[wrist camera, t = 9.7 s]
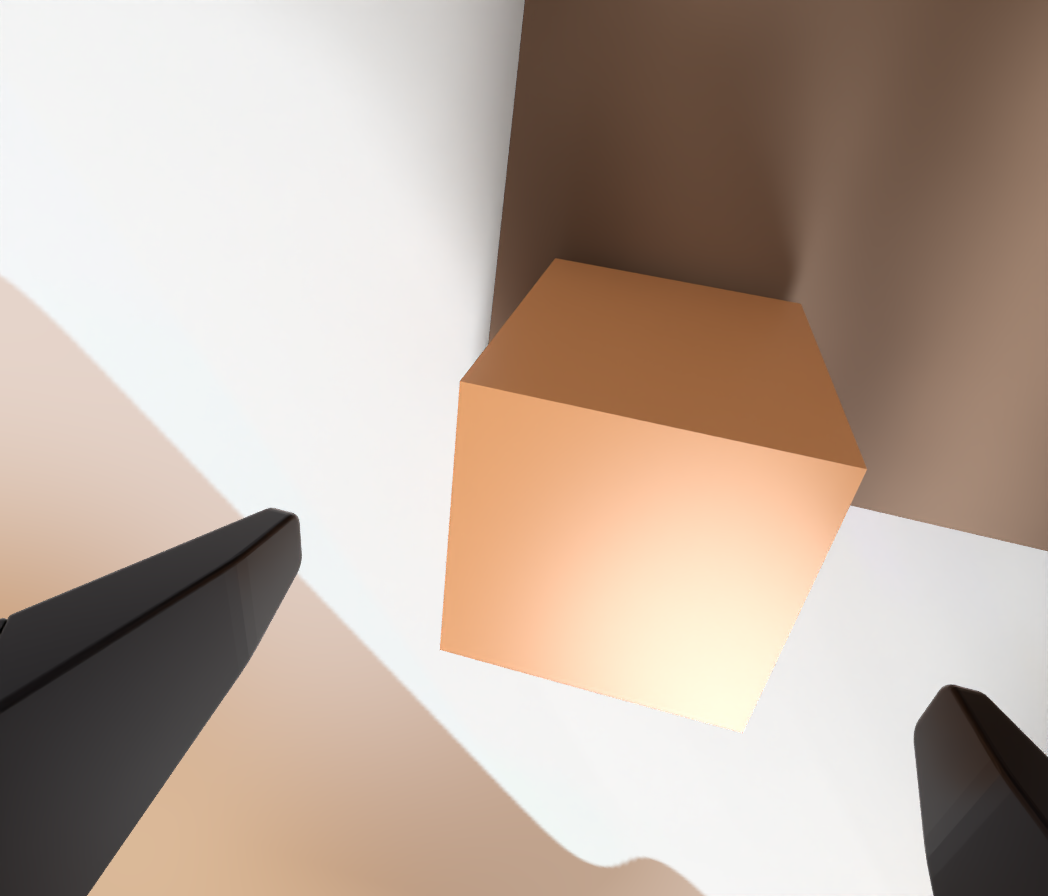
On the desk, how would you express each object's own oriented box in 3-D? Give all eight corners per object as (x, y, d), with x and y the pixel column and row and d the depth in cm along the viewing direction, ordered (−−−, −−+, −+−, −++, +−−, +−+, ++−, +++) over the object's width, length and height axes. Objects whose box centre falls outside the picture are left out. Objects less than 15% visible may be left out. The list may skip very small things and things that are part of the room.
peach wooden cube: (800, 303, 14) (867, 469, 8) (730, 505, 16) (742, 733, 11) (554, 258, 14) (459, 381, 9) (526, 458, 17) (439, 649, 11)
